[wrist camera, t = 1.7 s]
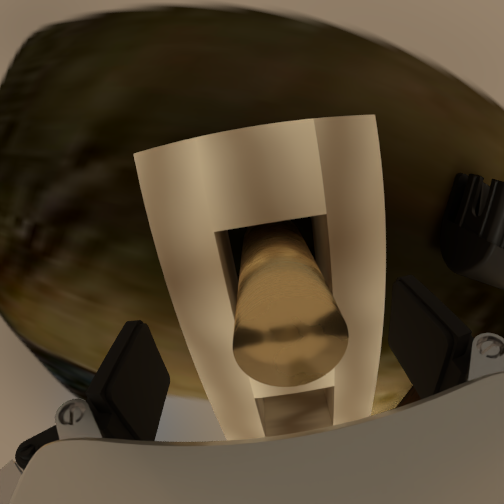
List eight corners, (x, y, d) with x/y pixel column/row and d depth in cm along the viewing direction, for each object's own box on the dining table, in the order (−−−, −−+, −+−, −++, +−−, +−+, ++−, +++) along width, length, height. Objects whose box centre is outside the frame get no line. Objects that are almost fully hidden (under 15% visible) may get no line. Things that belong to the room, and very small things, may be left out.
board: (345, 121, 17) (374, 114, 12) (352, 409, 26) (364, 445, 21) (163, 151, 18) (133, 153, 13) (240, 426, 27) (238, 464, 22)
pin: (297, 210, 19) (348, 286, 9) (304, 265, 20) (347, 376, 10) (237, 220, 19) (220, 306, 9) (248, 274, 21) (244, 392, 10)
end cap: (425, 251, 20) (474, 290, 14) (452, 168, 18) (512, 182, 11) (491, 276, 21) (533, 308, 15) (514, 209, 18) (563, 230, 12)
